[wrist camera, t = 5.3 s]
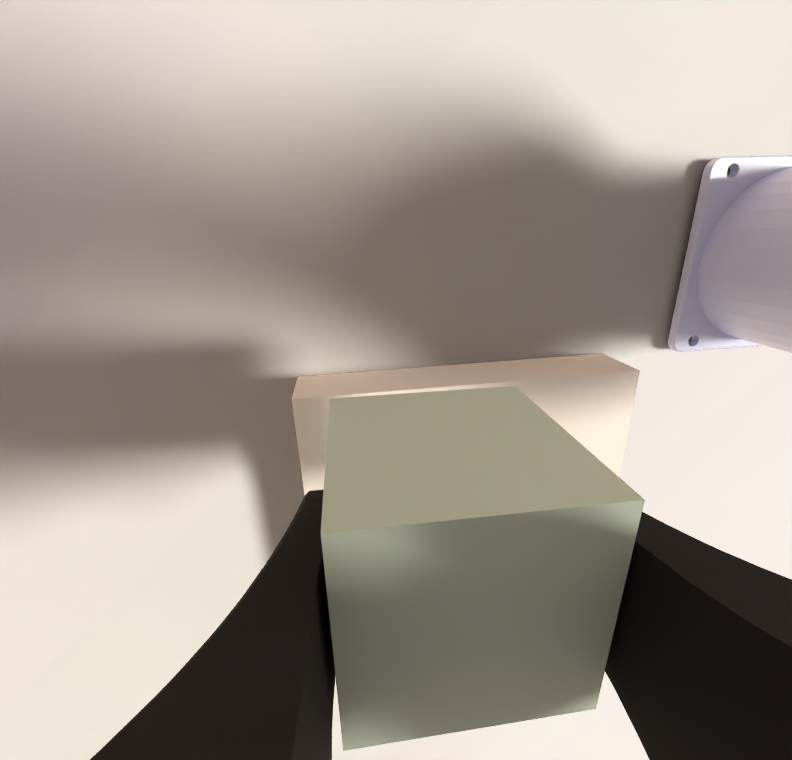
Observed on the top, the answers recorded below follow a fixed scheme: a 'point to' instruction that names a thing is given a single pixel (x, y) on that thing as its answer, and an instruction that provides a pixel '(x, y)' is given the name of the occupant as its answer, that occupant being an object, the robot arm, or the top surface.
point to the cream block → (537, 378)
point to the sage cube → (467, 563)
